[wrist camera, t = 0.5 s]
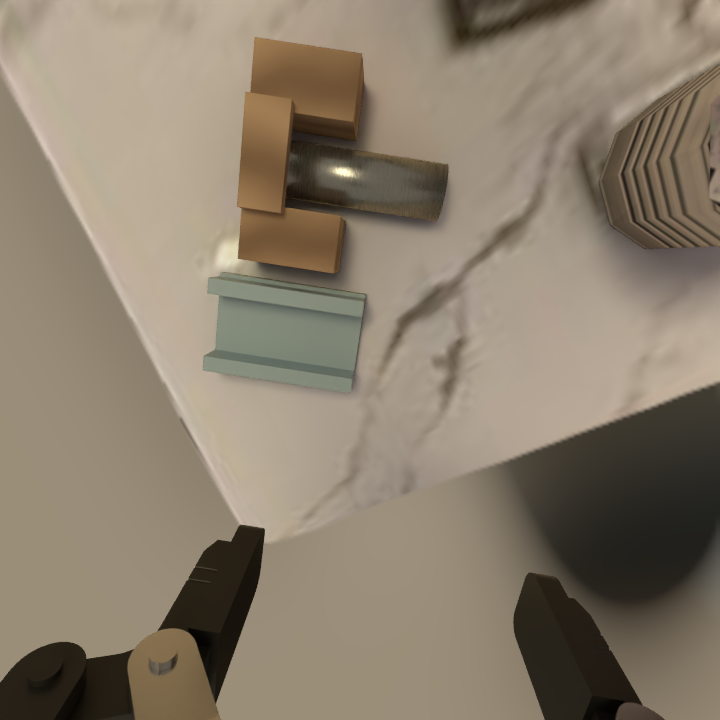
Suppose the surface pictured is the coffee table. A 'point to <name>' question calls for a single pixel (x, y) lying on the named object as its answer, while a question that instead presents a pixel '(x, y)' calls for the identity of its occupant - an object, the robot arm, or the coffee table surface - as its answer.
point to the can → (668, 170)
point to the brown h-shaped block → (273, 142)
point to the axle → (366, 181)
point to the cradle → (285, 332)
